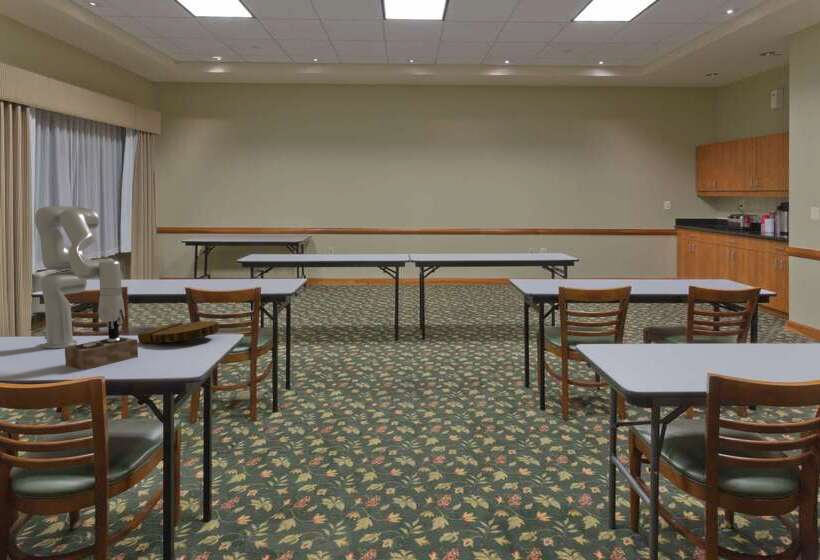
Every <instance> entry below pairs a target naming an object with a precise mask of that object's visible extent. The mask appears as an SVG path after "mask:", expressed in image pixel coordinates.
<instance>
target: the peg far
mask: <svg viewBox="0 0 820 560" xmlns="http://www.w3.org/2000/svg"><path fill="white" fill-rule="evenodd" d="M120 337H121V336H119V337H118V338H114V339H109V337H108V338H106V339H107V341H117V340H120Z"/></svg>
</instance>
